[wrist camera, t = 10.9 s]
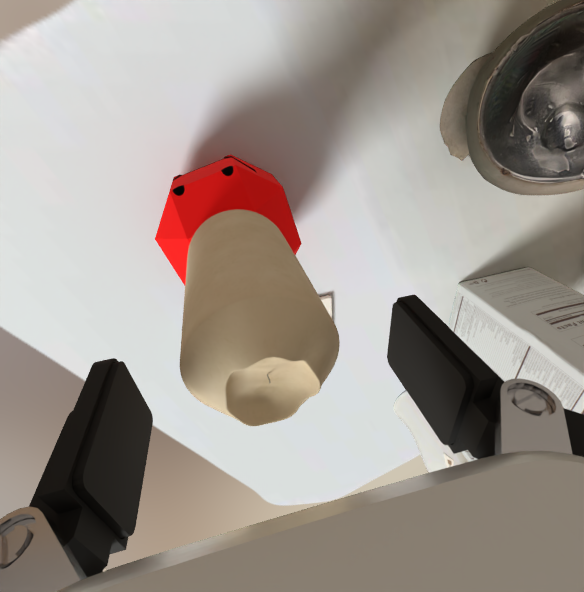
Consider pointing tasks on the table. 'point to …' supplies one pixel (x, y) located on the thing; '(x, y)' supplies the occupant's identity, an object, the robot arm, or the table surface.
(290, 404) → the candle
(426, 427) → the beer glass
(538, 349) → the supplement box
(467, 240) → the table surface
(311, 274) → the table surface
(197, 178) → the ball
